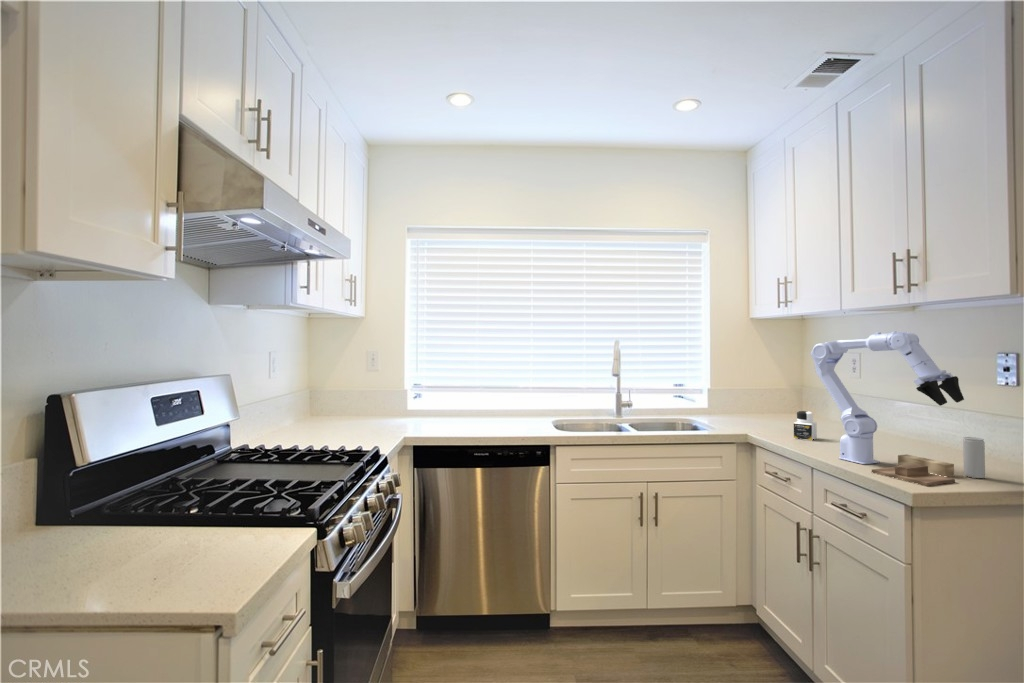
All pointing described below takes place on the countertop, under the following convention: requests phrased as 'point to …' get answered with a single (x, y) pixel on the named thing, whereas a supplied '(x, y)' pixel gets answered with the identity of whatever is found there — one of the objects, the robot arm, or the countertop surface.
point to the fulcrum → (914, 474)
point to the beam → (928, 464)
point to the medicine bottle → (805, 426)
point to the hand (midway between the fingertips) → (952, 402)
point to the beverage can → (974, 457)
